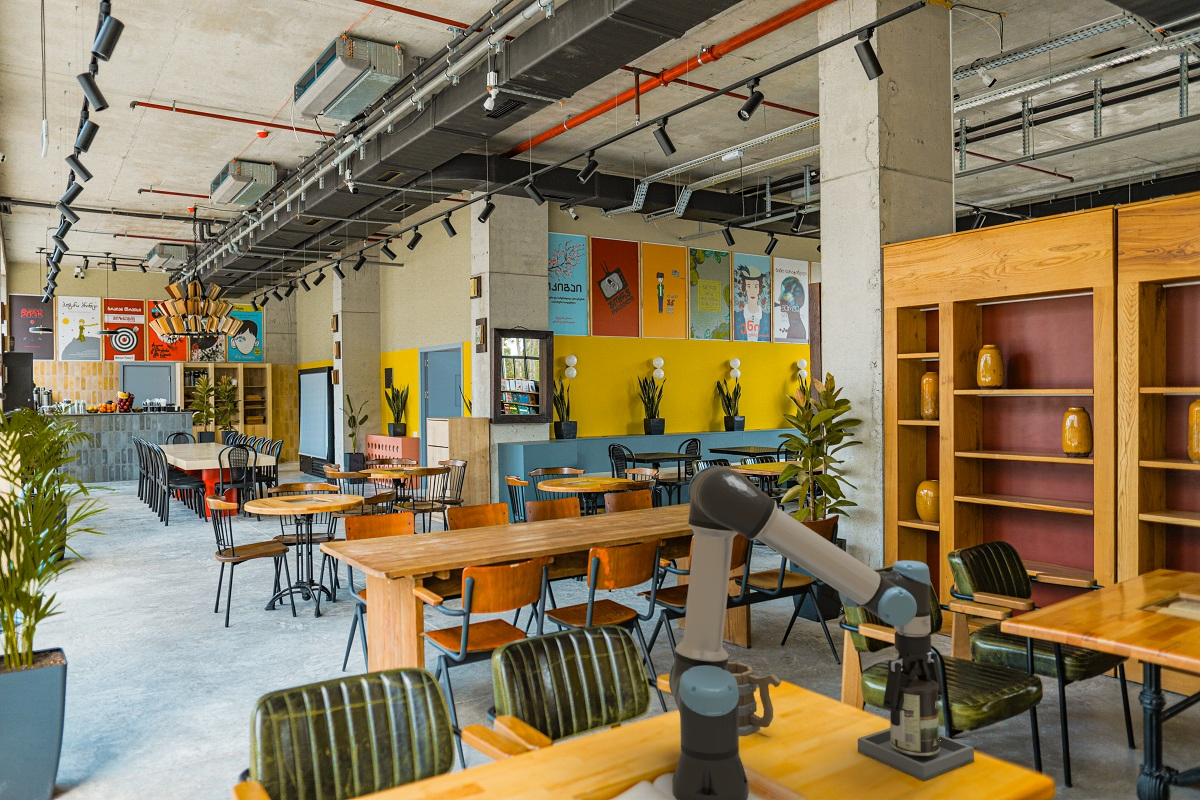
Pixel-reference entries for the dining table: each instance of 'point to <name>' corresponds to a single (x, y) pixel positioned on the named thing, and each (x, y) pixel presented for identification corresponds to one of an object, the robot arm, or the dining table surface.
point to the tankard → (752, 697)
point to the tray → (917, 766)
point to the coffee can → (919, 719)
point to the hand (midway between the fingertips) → (914, 734)
